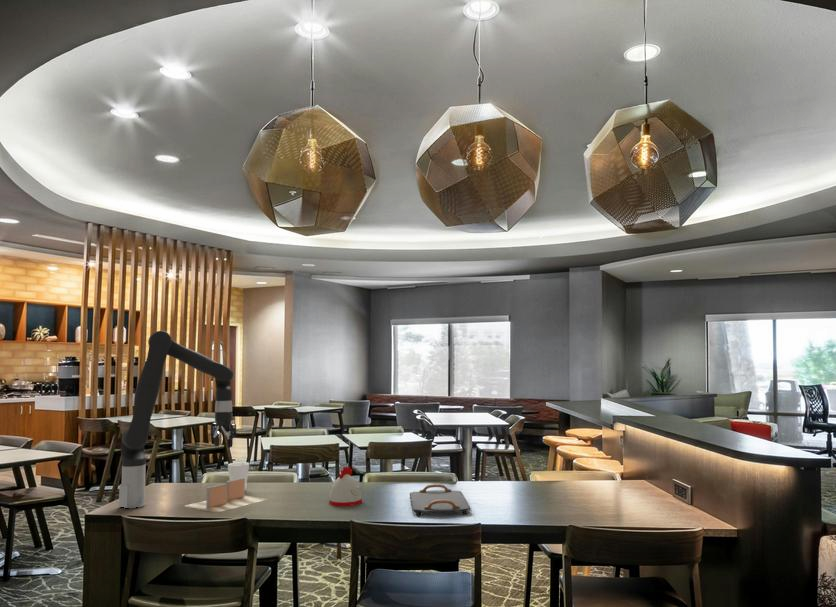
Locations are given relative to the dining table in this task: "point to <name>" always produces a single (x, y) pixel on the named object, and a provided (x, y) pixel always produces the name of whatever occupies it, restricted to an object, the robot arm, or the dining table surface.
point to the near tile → (216, 495)
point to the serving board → (438, 500)
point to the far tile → (235, 489)
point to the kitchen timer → (345, 490)
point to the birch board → (230, 504)
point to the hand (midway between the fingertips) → (223, 446)
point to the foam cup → (238, 471)
